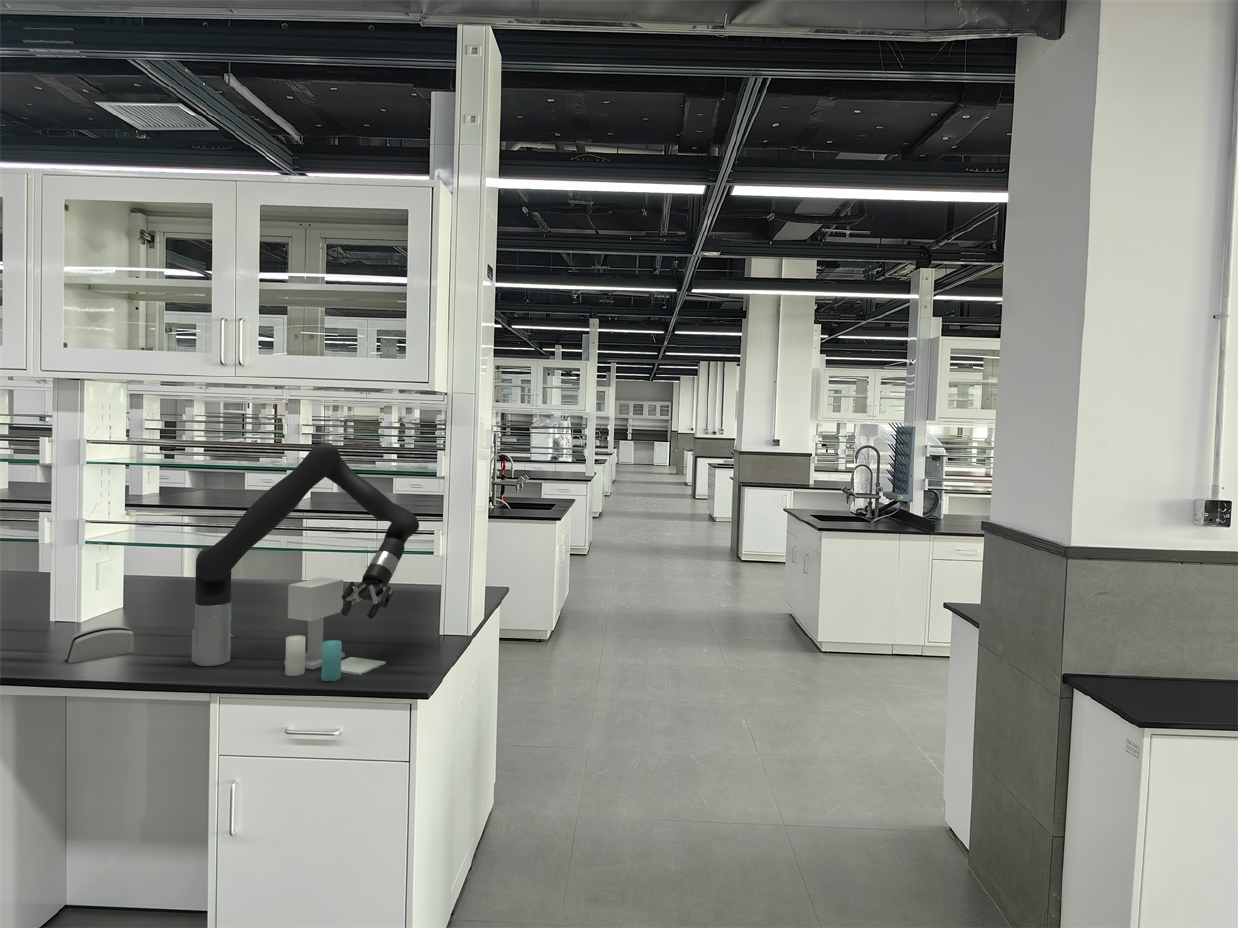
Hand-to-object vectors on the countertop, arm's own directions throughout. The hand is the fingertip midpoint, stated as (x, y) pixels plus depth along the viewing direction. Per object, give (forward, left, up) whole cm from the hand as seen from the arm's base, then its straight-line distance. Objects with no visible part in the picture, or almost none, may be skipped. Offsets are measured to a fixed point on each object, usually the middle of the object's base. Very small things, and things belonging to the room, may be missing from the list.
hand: (356, 616), depth 232 cm
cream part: (-12, -11, -15) cm, 22 cm away
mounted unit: (-15, +1, -15) cm, 21 cm away
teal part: (0, -11, -15) cm, 18 cm away
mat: (-1, +1, -15) cm, 15 cm away
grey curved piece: (-72, -21, -15) cm, 76 cm away
